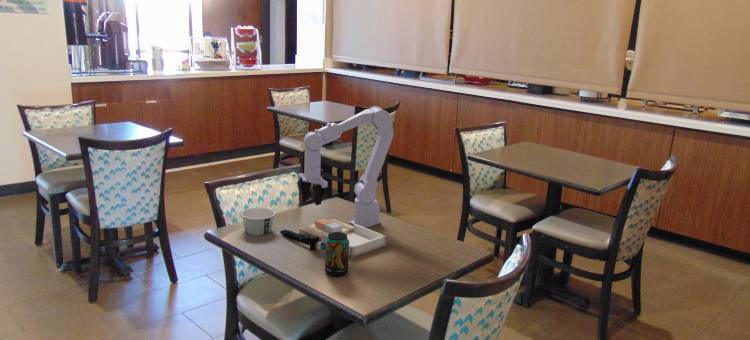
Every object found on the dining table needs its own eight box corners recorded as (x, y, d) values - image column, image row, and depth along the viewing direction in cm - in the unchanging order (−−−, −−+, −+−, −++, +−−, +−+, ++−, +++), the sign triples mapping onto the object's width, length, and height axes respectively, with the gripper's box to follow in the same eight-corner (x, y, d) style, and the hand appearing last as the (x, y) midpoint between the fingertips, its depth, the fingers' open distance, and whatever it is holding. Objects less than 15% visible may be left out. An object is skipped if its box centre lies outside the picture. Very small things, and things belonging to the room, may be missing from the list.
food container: (234, 228, 202) (234, 211, 200) (264, 222, 210) (264, 205, 208) (252, 239, 193) (252, 221, 192) (281, 231, 201) (282, 214, 199)
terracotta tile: (324, 223, 205) (324, 218, 205) (332, 226, 202) (333, 221, 202) (315, 226, 202) (315, 220, 202) (323, 229, 199) (323, 224, 199)
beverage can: (329, 279, 166) (330, 241, 163) (321, 269, 172) (322, 232, 169) (351, 275, 169) (352, 238, 166) (343, 266, 175) (344, 230, 172)
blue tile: (333, 227, 202) (333, 222, 201) (342, 230, 199) (342, 225, 198) (324, 230, 199) (324, 224, 198) (332, 233, 196) (332, 228, 195)
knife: (341, 257, 179) (340, 243, 178) (333, 259, 177) (333, 245, 176) (286, 237, 201) (285, 225, 200) (279, 239, 199) (278, 227, 198)
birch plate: (333, 223, 211) (333, 218, 210) (355, 233, 203) (355, 227, 202) (299, 233, 200) (299, 228, 199) (321, 243, 192) (321, 238, 191)
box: (355, 233, 203) (355, 223, 202) (385, 245, 193) (386, 235, 192) (321, 243, 192) (321, 234, 191) (351, 257, 182) (351, 247, 181)
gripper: (291, 163, 203) (290, 199, 207) (316, 172, 194) (316, 209, 197) (306, 160, 208) (305, 195, 212) (332, 168, 199) (331, 205, 202)
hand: (311, 202), depth 205 cm, fingers open, 6 cm apart
